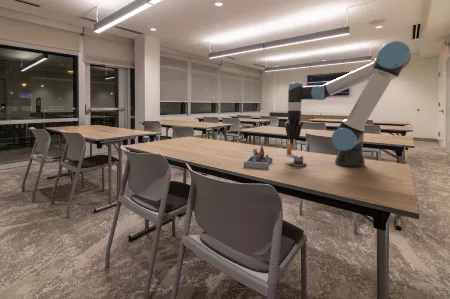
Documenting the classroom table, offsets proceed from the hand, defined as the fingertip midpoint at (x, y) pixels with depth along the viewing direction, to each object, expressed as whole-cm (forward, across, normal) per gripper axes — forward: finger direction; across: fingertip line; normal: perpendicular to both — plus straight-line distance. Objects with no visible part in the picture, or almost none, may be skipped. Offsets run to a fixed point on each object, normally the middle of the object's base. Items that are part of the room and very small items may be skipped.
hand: (292, 149), depth 152 cm
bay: (+7, +22, -2) cm, 24 cm away
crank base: (+7, +3, +8) cm, 11 cm away
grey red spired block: (+7, +21, -3) cm, 22 cm away
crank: (+6, +3, +5) cm, 8 cm away
